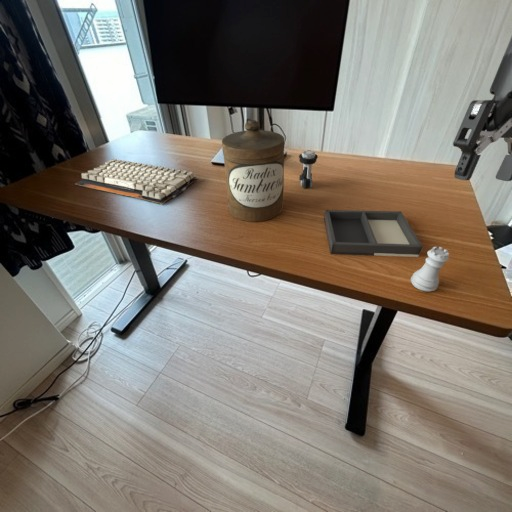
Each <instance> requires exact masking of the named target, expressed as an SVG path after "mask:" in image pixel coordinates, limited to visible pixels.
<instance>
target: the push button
mask: <svg viewBox="0 0 512 512" xmlns="http://www.w3.org/2000/svg"><path fill="white" fill-rule="evenodd" d="M318 158H319V157H318V155H317V154H316V152H315V151H313V150H304V151H302V153H300V154H299V155H298V159H299V163H301V164H302V165H303V166H302V173H301V174H299V178H298V180H299V182H300V183H299V184H300V186H301V187H302V186H303V189H306V190H307V189H310V188H312V185H313V178H312V176H313V174H312V166H313V165H314V164H316V163H317V160H318Z"/></svg>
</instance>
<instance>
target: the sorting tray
mask: <svg viewBox="0 0 512 512" xmlns="http://www.w3.org/2000/svg"><path fill="white" fill-rule="evenodd" d="M323 220H324V227H325V231H326V236H327V243H328V247H329V253H330V255H349V256H351V255H352V256H379V257H380V256H381V257H404V258H405V257H409V258H419V257H420V254H421V252H422V250H423V248H424V246H423V244H422V243H421V241H420V240H419V238H418V236H417V235H416V233H415V232H414V230H413V228H412V227H411V225H410V223H409V222H408V220H407V219H406V216H405V215H404V214H403V212H402V210H400V211H396V210H392V211H391V210H353V209H350V210H348V209H346V210H345V209H325V211H324V217H323Z"/></svg>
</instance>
